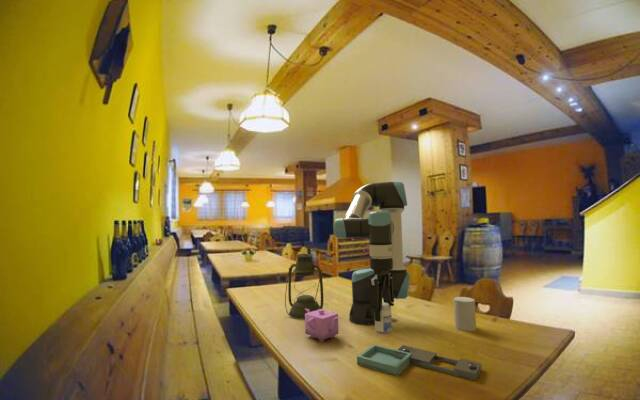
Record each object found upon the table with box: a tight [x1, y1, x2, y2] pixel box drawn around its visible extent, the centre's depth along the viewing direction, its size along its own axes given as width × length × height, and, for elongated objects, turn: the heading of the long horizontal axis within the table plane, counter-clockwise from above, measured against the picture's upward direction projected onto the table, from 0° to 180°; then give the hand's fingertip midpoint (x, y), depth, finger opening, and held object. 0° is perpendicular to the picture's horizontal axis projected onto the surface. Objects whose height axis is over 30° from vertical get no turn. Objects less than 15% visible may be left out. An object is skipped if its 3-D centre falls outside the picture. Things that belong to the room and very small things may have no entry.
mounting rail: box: [393, 344, 482, 382], centre depth 103 cm, size 26×8×3 cm, turn 53°
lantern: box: [284, 253, 324, 320], centre depth 162 cm, size 21×18×30 cm
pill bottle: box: [374, 301, 393, 337], centre depth 105 cm, size 5×5×10 cm
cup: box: [453, 296, 477, 332], centre depth 136 cm, size 8×8×12 cm
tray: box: [356, 344, 412, 377], centre depth 105 cm, size 14×12×2 cm
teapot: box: [304, 308, 340, 343], centre depth 129 cm, size 15×13×11 cm
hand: (383, 328), depth 105 cm, fingers closed on pill bottle, 5 cm apart
